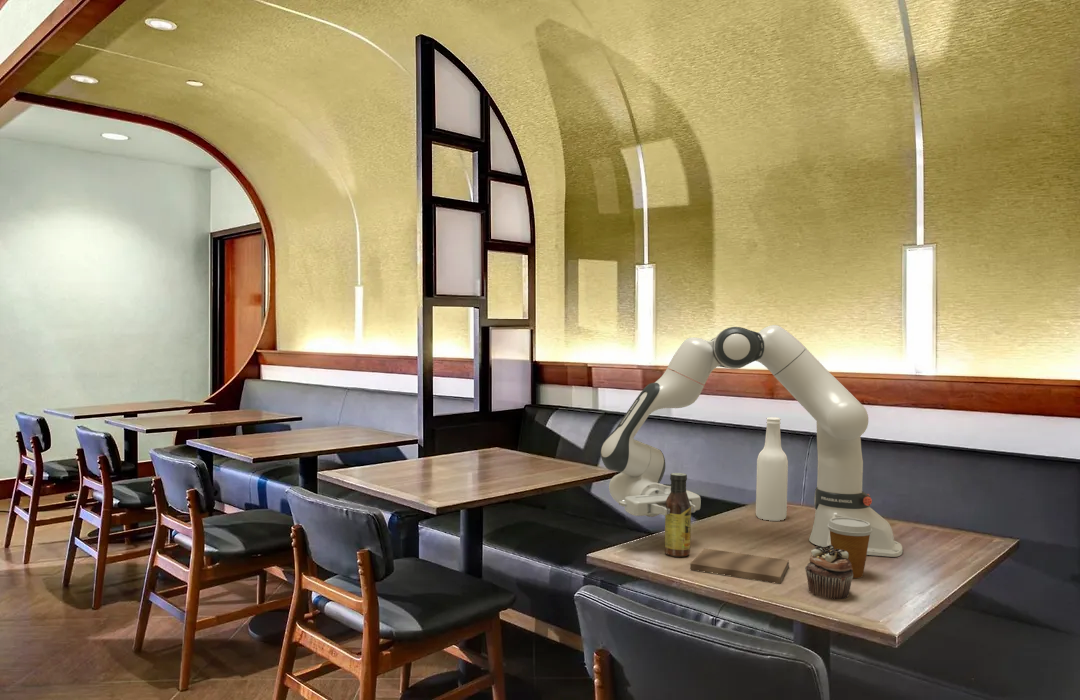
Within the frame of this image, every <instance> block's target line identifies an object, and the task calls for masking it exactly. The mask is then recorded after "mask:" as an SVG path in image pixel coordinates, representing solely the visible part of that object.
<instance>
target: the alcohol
mask: <svg viewBox="0 0 1080 700" xmlns="http://www.w3.org/2000/svg"><path fill="white" fill-rule="evenodd" d="M781 420H782V419H781V418H780V417H777V416H776V417H775V416H768V417H767V418H766V430H765V440H764V446H763V448H762V449H761V451H760V452H759V453H758V455H757V459H756V491H755V492H756V493H755V515H756V517H757V519H759V520H762V519H763V520H762V521H766V520H769V521H768V522H781V521H780V520H783V521H784V519H786V518H787V511H788V510H787V509H788V505H787V504H788V477H789V476H788V475H789V474H788V473H789V471H788V470H789V460H788V456H787V454H786V452H785V451H784V450H783V448H782V441H781V439H782V437H781Z"/></svg>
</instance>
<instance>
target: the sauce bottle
mask: <svg viewBox="0 0 1080 700" xmlns="http://www.w3.org/2000/svg"><path fill="white" fill-rule="evenodd" d="M669 479H670V484H671V493H670V494H669V496H668V497H667V500H666V507H669V508H670V515H664V517H665V518H664V525H665V526H664V547H665V549H664V552H665V554H666V555H668V556H671V557H677V558H678V557H679V558H682V557H683V558H684V557H687V556H689V555H690V553H691V550H690V549H691V534H692V533H691V532H692V530H691V529H692V526H691V524H692V523H691V522H692V521H691V520H692V513H691V505H690V502H689V499H688V496H687V492H686V490H687V480H688V475H687V474H686V473H683V472H671V473H670V476H669Z"/></svg>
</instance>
